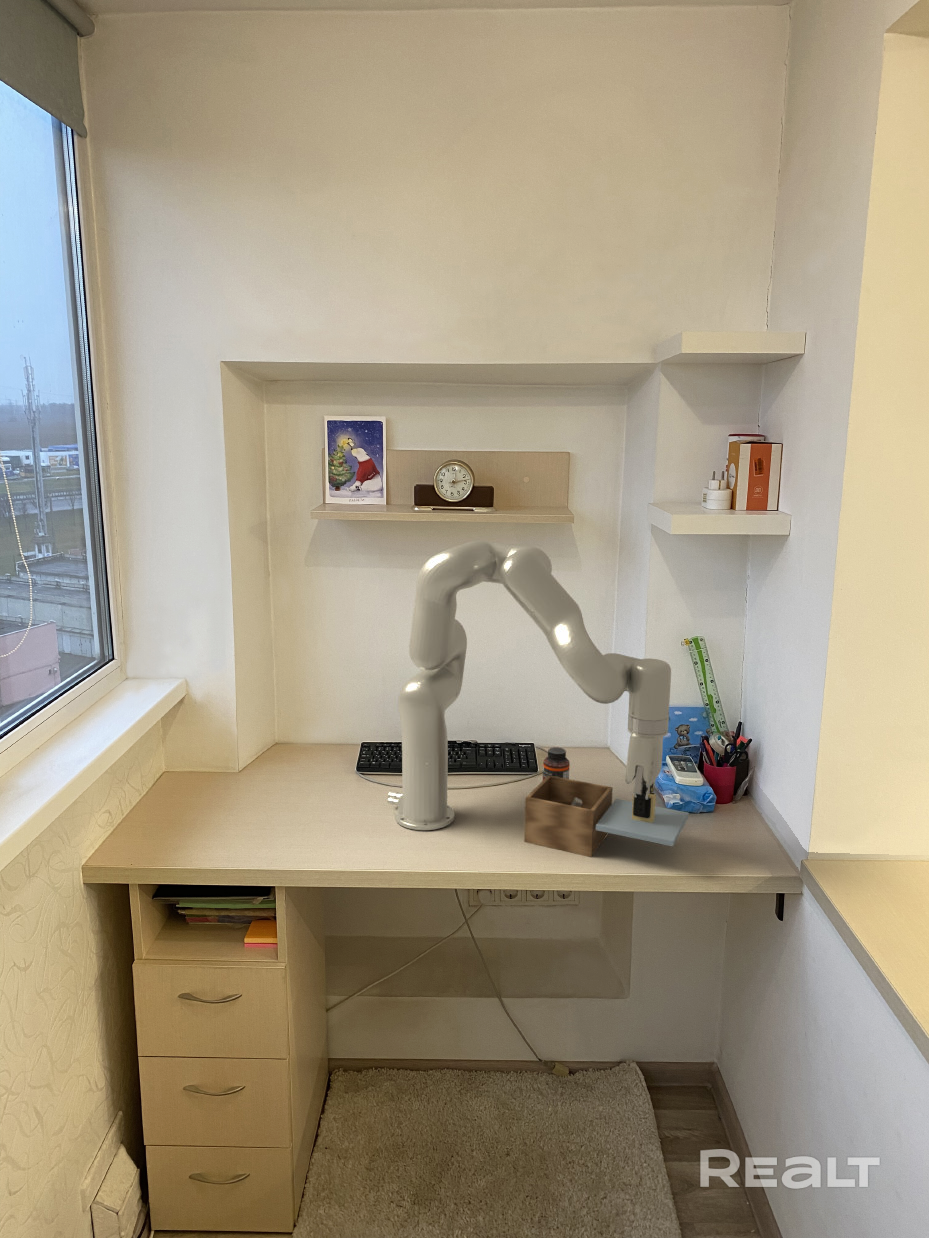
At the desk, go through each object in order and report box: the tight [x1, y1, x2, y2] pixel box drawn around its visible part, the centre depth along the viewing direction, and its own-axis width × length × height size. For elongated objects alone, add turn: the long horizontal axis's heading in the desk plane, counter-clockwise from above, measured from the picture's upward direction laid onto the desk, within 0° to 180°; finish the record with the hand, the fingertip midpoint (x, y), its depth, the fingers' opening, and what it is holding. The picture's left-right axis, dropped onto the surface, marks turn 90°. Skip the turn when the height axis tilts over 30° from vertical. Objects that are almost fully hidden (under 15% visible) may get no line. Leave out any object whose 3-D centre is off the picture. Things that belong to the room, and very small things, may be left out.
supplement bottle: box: [541, 746, 571, 782], centre depth 194 cm, size 6×6×11 cm
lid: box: [596, 793, 690, 847], centre depth 168 cm, size 15×14×6 cm
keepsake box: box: [523, 775, 613, 858], centre depth 175 cm, size 14×13×10 cm
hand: (643, 813), depth 168 cm, fingers closed on lid
